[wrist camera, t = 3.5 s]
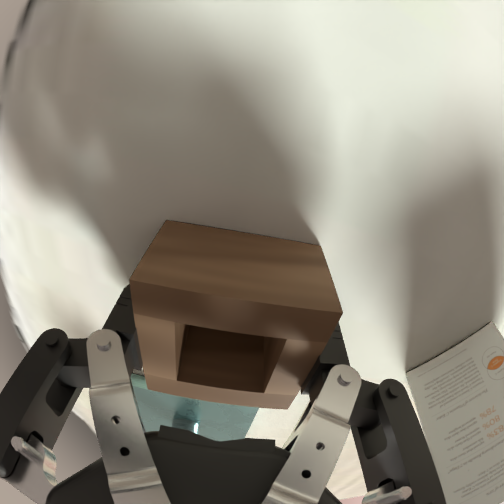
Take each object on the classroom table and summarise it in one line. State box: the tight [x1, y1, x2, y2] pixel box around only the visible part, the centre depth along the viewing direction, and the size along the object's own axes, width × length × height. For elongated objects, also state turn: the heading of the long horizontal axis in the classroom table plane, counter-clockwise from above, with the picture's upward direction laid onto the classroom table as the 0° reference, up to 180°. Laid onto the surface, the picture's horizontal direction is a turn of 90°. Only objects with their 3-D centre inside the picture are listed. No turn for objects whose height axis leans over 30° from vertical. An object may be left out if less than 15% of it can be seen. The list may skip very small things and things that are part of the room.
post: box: [131, 373, 259, 441], centre depth 15 cm, size 10×10×11 cm
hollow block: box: [129, 220, 343, 409], centre depth 11 cm, size 6×6×4 cm
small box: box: [406, 322, 504, 504], centre depth 11 cm, size 8×6×13 cm
